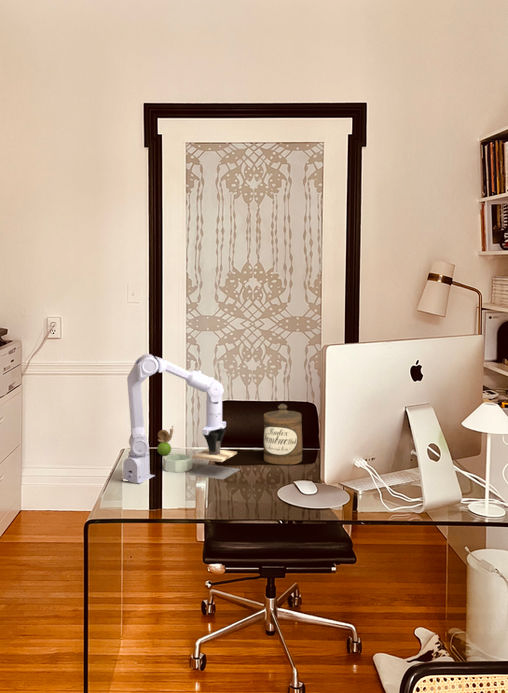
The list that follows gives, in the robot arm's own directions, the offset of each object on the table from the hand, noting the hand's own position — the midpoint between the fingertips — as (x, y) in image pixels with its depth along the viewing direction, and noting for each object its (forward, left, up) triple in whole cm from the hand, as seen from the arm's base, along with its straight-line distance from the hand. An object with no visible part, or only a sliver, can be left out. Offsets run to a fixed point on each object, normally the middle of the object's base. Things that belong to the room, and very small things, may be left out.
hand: (214, 450), depth 257 cm
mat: (0, 0, -8) cm, 9 cm away
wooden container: (+26, -16, -9) cm, 32 cm away
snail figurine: (+13, +29, -9) cm, 33 cm away
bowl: (-2, +15, -8) cm, 17 cm away
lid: (0, 0, -2) cm, 2 cm away
